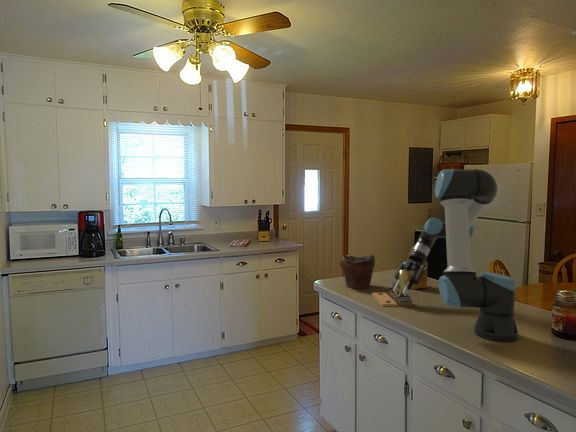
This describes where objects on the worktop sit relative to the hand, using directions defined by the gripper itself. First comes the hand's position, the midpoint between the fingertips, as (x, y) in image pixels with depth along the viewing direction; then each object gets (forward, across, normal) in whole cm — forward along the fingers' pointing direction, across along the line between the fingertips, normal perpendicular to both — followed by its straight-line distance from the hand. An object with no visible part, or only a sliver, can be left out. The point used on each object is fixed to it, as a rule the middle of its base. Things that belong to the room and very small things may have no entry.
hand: (399, 293), depth 199 cm
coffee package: (-22, +14, -31) cm, 41 cm away
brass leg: (+1, +1, -5) cm, 5 cm away
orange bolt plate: (+3, +10, -6) cm, 12 cm away
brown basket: (-6, +36, -15) cm, 39 cm away
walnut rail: (-1, +5, -10) cm, 11 cm away
